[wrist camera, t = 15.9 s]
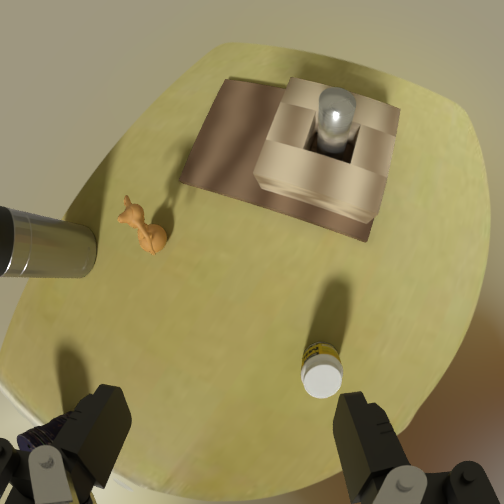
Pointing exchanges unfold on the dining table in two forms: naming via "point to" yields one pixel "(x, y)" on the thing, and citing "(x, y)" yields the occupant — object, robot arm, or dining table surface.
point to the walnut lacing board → (252, 156)
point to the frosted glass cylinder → (334, 121)
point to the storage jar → (42, 434)
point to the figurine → (143, 227)
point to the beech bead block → (322, 167)
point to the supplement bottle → (321, 370)
